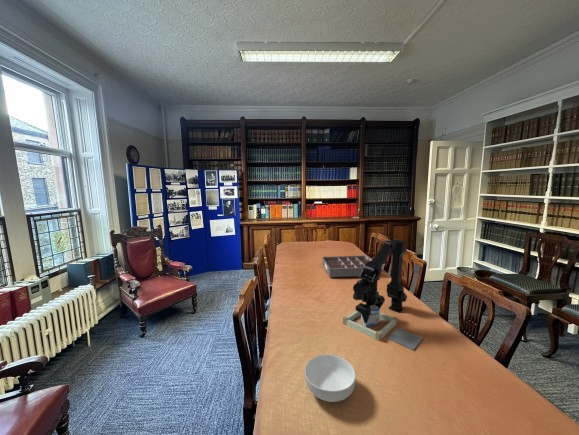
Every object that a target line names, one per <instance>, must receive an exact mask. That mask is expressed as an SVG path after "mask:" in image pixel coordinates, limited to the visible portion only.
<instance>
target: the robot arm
mask: <svg viewBox="0 0 579 435" xmlns="http://www.w3.org/2000/svg"><path fill="white" fill-rule="evenodd" d="M407 249H408V243H407V241H406V240H402V239H397V238H392V239H391V240H390V239H387V240H384V242H383V244H382V246H381V248H380V249H379V250H378V252H377V253H376V255H375V256H374V258H372V260H371V261H369V262H368V263H367V264H366V265H365V266H364V267H363V270H362V272H361V274H360V276H358V278H359V279H360V280H359V279H358V280H356V283H355V284H353V286H352V290H353V292H354V293H353V294H352V298H353V300H355V301H361V302H360V303H359V304H356V306H355V311H358V312H360V313H361V314H360V316H361V315H362V317H363V320H364V323H367V322H368V319H369V317H370V314H371V308H370V307H372V306H373V305H376V306H377V307H378V308H380V309H381V308H382V306H383V305H384V303H385V301H386V298H385V297H384V295H380V292H379V291H378V281H380V280H381V278H380V276H381V273H382V271H383V269H382V267H383V265H384V263H385V262H386V260H387V259H388V257H389V256H390V254H392V262H391V279H390V282H389V283H387V284H386V295H387V298H390V299H391V300H390V301H391V302H390V306H389V307H388V309H389V310H392V311H394V312H396V313H402V312H403V311H404V310H405V307H404V306H403V303H404V302H405V303H406V301H407V298H408V296H407V294H406V293H405V291H404V290H405V287H404V285H403V283H402V269H403V256H404V255H405V254H406V253H407V251H408V250H407ZM364 275H366V276H364ZM362 302H363V303H362Z"/></svg>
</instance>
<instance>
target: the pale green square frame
mask: <svg viewBox="0 0 579 435" xmlns="http://www.w3.org/2000/svg"><path fill="white" fill-rule="evenodd" d="M359 316H361V313H360V312H358V311H356V310H354V311H353V312H351V313H350V314H348V315H347V316H343V317H342V324H343V325H345V326H347V327H349V328H352V329H354V330H356V331H358V332H360V333H362V334H364V335H366V336H369V337H370V338H372V339H375V340H376V341H378V342H380V341H381V340H382V339H383V338H384V337H385V336H386V335H387V334H388V333H389V332H391V331H392V329H393V328H395V327H396V326H397V325H398V324H399V317H398V316H390V315H388V314H385V313H382V312H380V320H383V321H384V322H388V323H387V324H386V325H385V326H383V327H382V328H381V329H380V330H377V331H375V330H372V329H371V328H369V327H365V326H364V325H363V324H362V325H361V324H359V323H357V322H355V321H354V320H355V319H357V318H358V317H359Z"/></svg>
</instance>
